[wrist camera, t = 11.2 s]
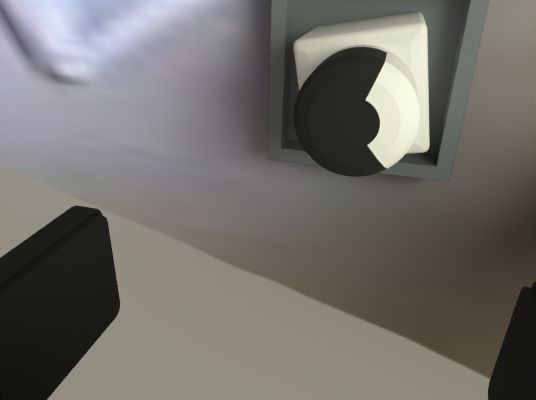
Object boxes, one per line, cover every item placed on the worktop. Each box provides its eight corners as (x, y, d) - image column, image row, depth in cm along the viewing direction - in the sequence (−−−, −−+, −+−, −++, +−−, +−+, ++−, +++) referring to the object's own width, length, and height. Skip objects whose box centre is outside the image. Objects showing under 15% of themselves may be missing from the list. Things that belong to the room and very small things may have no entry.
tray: (487, -29, 29) (495, -28, 26) (445, 165, 35) (449, 181, 32) (283, -34, 31) (272, -35, 29) (277, 146, 37) (267, 159, 35)
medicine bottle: (324, 126, 35) (290, 195, 24) (313, 26, 32) (268, 55, 21) (425, 118, 32) (434, 189, 22) (423, 10, 30) (432, 33, 19)
